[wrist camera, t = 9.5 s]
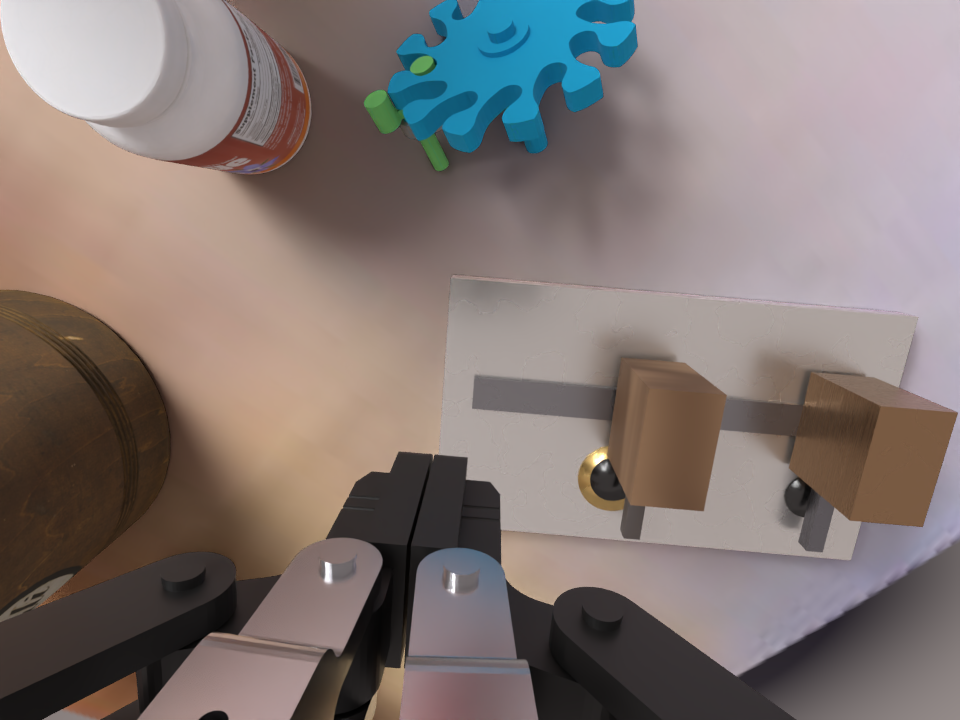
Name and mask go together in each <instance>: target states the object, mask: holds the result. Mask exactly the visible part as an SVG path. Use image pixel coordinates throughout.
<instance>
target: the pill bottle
mask: <svg viewBox="0 0 960 720" xmlns="http://www.w3.org/2000/svg"><path fill="white" fill-rule="evenodd" d="M0 16H1V26H2V32H3V37H4V40H5V44H6V47H7V50H8V52H9V54H10V57H11V59H12V61H13V63H14V65H15V67H16V69H17V70H18V72H19V73H20V75H21V76H22V78H23V79H24V80H25V82H26V83H27V84H28V85H29V86H30V88H31V89H32V90H33V91H34V92H35V93H36V94H37V95H38V96H39V97H41V98H42V99H43V100H44V101H45V102H47V103H48V104H49V105H51V106H52V107H54V108H56V109H58V110H59V111H61V112H63V113H65V114H67V115H69V116H72V117H75V118H78V119H82V120H85V121H86V122H87V123H88V124H89V125H90V126H91V127H92V128H93V129H94V130H95V131H96V132H97V133H99V134H100V135H101V136H102V137H104V138H105V139H107V140H108V141H110V142H111V143H112V144H114V145H116V146H118V147H120V148H122V149H124V150H126V151H128V152H131V153H134V154H137V155H140V156H144V157H148V158H152V159H156V160H161V161H167V162H173V163H179V164H185V165H190V166H197V167H202V168H208V169H214V170H220V171H227V172H232V173H238V174H261V173H266V172H270V171H272V170H275V169H277V168H279V167H281V166H283V165H284V164H286V163H287V162H288V161H290V160H291V159H292V158H293V157H294V156H295V155H296V154H297V152H298V151H299V150H300V148H301V147H302V145H303V143H304V141H305V139H306V137H307V134H308V131H309V127H310V122H311V99H310V93H309V89H308V86H307V83H306V80H305V78H304V75H303V73H302V71H301V70H300V68H299V66H298V65H297V63H296V62H295V60H294V59H293V58H292V57H291V55H290V54H289V53H288V52H287V51H286V50H285V49H284V48H283V47H282V46H281V45H280V44H278V43H277V42H276V41H275V40H274V39H272V38H271V37H270V36H269V35H268V34H266V33H265V32H264V31H263V30H261V29H260V28H259V27H258V26H257V25H255V24H254V23H253V22H252V21H251V20H249V19H248V18H247V17H245V16H244V15H243V14H242V13H241V12H239V11H238V10H237V9H235V8H234V7H233V6H232V5H230V4H229V3H228V2H227V1H225V0H1V9H0Z"/></svg>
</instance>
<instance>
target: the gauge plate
mask: <svg viewBox="0 0 960 720" xmlns="http://www.w3.org/2000/svg"><path fill="white" fill-rule="evenodd" d="M917 320H918V317H916V316H912V315H908V314H904V313H899V312H893V311H881V310H869V309H857V308H845V307H833V306H821V305H809V304H798V303H786V302H774V301H762V300H750V299H738V298H726V297H714V296H702V295H690V294H678V293H666V292H654V291H642V290H631V289H619V288H607V287H595V286H583V285H571V284H559V283H547V282H535V281H523V280H511V279H499V278H487V277H475V276H464V275H452V277H451V281H450V296H449V310H448V325H447V340H446V355H445V370H444V385H443V400H442V415H441V430H440V445H439V455H447V456H458V457H468V463H467V476H466V480H476V481H488V482H491V483H492V485H493V486H494V487H495V488H496V490H497V491H498V492H499V493H500V517H501V520H500V522H501V530H508V531H519V532H531V533H542V534H554V535H565V536H577V537H588V538H600V539H611V540H622V541H634V542H645V543H657V544H668V545H680V546H691V547H703V548H714V549H726V550H737V551H748V552H760V553H771V554H783V555H794V556H806V557H817V558H829V559H840V560H851V558H852V554H853V551H854V547H855V544H856V540H857V536H858V533H859V529H860V526H861V522H871V523H883V524H894V525H906V526H917V527H923V524H924V521H925V518H926V515H927V511H928V508H929V505H930V502H931V498H932V495H933V492H934V489H935V485H936V482H937V479H938V476H939V472H940V469H941V466H942V463H943V459H944V456H945V453H946V450H947V447H948V443H949V440H950V437H951V434H952V430H953V427H954V424H955V421H956V417H957V414H958V413H957V412H955V411H953V410H950V409H948V408H946V407H943V406H941V405H939V404H936V403H934V402H931V401H929V400H927V399H924V398H922V397H920V396H917V395H915V394H912V393H910V392H908V391H905V390H903V389H901V388H899V385H900V382H901V378H902V374H903V371H904V367H905V364H906V360H907V356H908V353H909V349H910V346H911V342H912V338H913V335H914V331H915V328H916V324H917ZM621 357H623V358H635V359H647V360H659V361H670V362H682V363H686V364H687V365H688V366H690V367H691V368H692V369H694V370H695V371H696V372H697V373H699V374H700V375H701V376H703V377H704V378H705V379H707V380H708V381H709V382H710V383H712V384H713V385H714V386H716V387H717V388H718V389H720V390H721V391H722V392H724V393H725V394H726V395H727V397H726V402H725V407H724V412H723V417H722V422H721V427H720V432H719V437H718V442H717V447H716V452H715V457H714V462H713V467H712V472H711V478H710V483H709V488H708V493H707V498H706V503H705V508H704V511H693V510H681V509H670V508H658V507H647V506H645V512H644V518H643V524H642V530H641V536H640V540H636V539H625V538H623V536H622V533H621V531H620V527H621V520H622V514H623V508H624V502H625V492H624V490H623V488H622V486H621V484H620V482H619V480H618V477H617V475H616V473H615V471H614V469H613V467H612V465H611V462H610V460H609V458H608V456H607V452H608V445H609V438H610V431H611V425H612V418H613V411H614V404H615V397H616V391H617V384H618V377H619V370H620V364H621Z"/></svg>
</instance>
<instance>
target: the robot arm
mask: <svg viewBox="0 0 960 720" xmlns="http://www.w3.org/2000/svg"><path fill="white" fill-rule="evenodd" d="M467 463H468V457H458V456H447V455H435V456H434V459H433V455H432V454H422V453H411V452H398V455H397V457H396V459H395V462H394V464H393V466H392V469H391V471H390V473H383V472H370V473H369V474H367V475H366V476H364V477H363V478H361V479H360V480H358V481H357V482H356V483H355V485H354V487H353V489H352V491H351V492H350V494H349V498H347V500H346V502H345V504H344V506H343V509H341V511H340V513H339V515H338V517H337V519H336V521H335V523H334V524H333V526H332V528H331V530H330V532H329V534H328V536H327V538H326V540H322V541H319V542H316V543H313V544H311V545H309V546H307V547H306V548H304V549H303V550H301V551H300V552H299V553H298V554H297V555H296V556H295V558H294V559H293V560H292V562H291V563H290V565H289V566H288V567H287V569H286V570H285V571H284V573H283V574H281V575H277V576H271V577H265V578H257V579H248V580H240V581H236V568H235V565H234V563H233V562H232V561H231V560H230V559H228V558H227V557H225V556H223V555H220V554H216V553H211V552H190V553H184V554H179V555H175V556H171V557H168V558H165V559H162V560H160V561H157V562H155V563H152V564H149V565H147V566H144V567H142V568H139V569H136V570H134V571H131V572H129V573H126V574H123V575H121V576H118V577H116V578H113V579H110V580H108V581H105V582H103V583H100V584H98V585H95V586H92V587H90V588H87V589H85V590H82V591H79V592H77V593H74V594H72V595H69V596H66V597H64V598H61V599H59V600H56V601H53V602H51V603H48V604H46V605H43V606H41V607H38V608H35V609H33V610H30V611H28V612H25V613H22V614H20V615H17V616H15V617H12V618H9V619H7V620H4V621H2V622H0V720H42V719H44V718H46V717H48V716H49V715H51V714H53V713H55V712H57V711H59V710H61V709H63V708H65V707H67V706H69V705H71V704H73V703H75V702H77V701H79V700H81V699H83V698H85V697H87V696H89V695H91V694H93V693H95V692H97V691H98V690H100V689H102V688H104V687H106V686H108V685H110V684H112V683H114V682H116V681H118V680H120V679H122V678H124V677H126V676H128V675H130V674H132V673H134V672H136V677H137V689H138V700H136V701H134V702H132V703H130V704H128V705H127V706H125V707H123V708H121V709H119V710H117V711H116V712H114V713H112V714H110V715H108V716H106V717H105V718H103V719H101V720H372V719H373V716H374V713H375V710H376V702H377V690H378V688H379V686H380V683H381V680H382V676H383V672H384V668H385V667H391V668H400V667H401V662H402V657H403V653H404V648H405V663H404V668H405V673H404V683H403V692H402V702H401V711H400V720H796V719H794V718H793V717H792V716H790V715H789V714H788V713H786V712H785V711H783V710H782V709H781V708H779V707H778V706H776V705H775V704H774V703H772V702H771V701H770V700H768V699H767V698H765V697H764V696H763V695H761V694H760V693H758V692H757V691H756V690H754V689H753V688H751V687H750V686H749V685H747V684H746V683H744V682H743V681H742V680H740V679H739V678H738V677H736V676H735V675H733V674H732V673H731V672H729V671H728V670H726V669H725V668H724V667H722V666H721V665H720V664H718V663H717V662H715V661H714V660H713V659H711V658H710V657H708V656H707V655H706V654H704V653H703V652H701V651H700V650H699V649H697V648H696V647H695V646H693V645H692V644H690V643H689V642H688V641H686V640H685V639H683V638H682V637H681V636H679V635H678V634H677V633H675V632H674V631H672V630H671V629H670V628H668V627H667V626H665V625H664V624H663V623H661V622H660V621H658V620H657V619H656V618H654V617H653V616H652V615H650V614H649V613H647V612H646V611H645V610H643V609H642V608H640V607H639V606H638V605H636V604H635V603H633V602H632V601H631V600H629V599H627V598H626V597H624V596H622V595H620V594H618V593H615V592H613V591H610V590H606V589H602V588H596V587H579V588H574V589H571V590H568V591H566V592H564V593H562V594H561V595H560V596H559V597H558V598H557V600H556V601H555V603H554V606H553V605H550V604H546V603H543V602H540V601H537V600H535V599H532V598H530V597H528V596H526V595H524V594H522V593H520V592H519V591H517V590H516V589H515V588H514V587H512V586H511V585H510V584H509V582H508V581H507V580H506V578H505V574H504V570H503V568H502V567H501V522H500V520H501V517H500V493H499V492H498V491H497V490H496V488H495V487H494V486H493V485H492V483H491V482H488V481H476V480H466V476H467ZM405 643H406V645H405Z"/></svg>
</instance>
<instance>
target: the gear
mask: <svg viewBox="0 0 960 720" xmlns="http://www.w3.org/2000/svg"><path fill="white" fill-rule="evenodd" d="M429 15H430V17H431V20H432V22H433V25H434V27H435V29H436V32H437V34H438V35H440V36H445V37H447V38H446V39H445V40H444V42H442V43H441V44H439V45H437V46H435V47H428V46H427V43H426V41H425V39H424V37H423V35H421V34H413V35H411V36H410V37H409V38H407V39H406V40H405V41H404V42H403V44H402V45H401V46H400V47H399V48H398V50H397V51H396V52H397V54H398V56H399V58H400V60H401V62H402V64H403V66H404V68H405V70H406V71H400V72H397V73H395V74H394V75H393V77H392V78H391V80H390V83H389V86H388V92H387V93H388V95H389V96H390V98H391V100H392V102H393V104H394V106H395V107H394V106H393V104H392V102H391V100H390V98H389V96H388V95H387V93H386V91H384V90H377V91H374V92H372V93H371V94H369V95H368V96H367V97H366V99H365V101H364V106H365V108H366V109H367V111H368V113H369V114H370V116H371V118H372V119H373V121H374V123H375V124H376V126H377V128H378V129H379V131H380V132H381V133H383V134H388V133H391V132H393V131H395V130H396V129H397V128H398V127H399V126H400V127H401V129H402V131H403V132H404V134H405V136H406V137H408V138H410V139H417V140H418V141H420V142H421V144H422V146H423V148H424V150H425V152H426V154H427V155H428V157H429V159H430V161H431V163H432V165H433V167H434V169H435V170H436V171H442V170H444V169H446V168H447V167H448V165H449V162H448V160H447V158H446V156H445V154H444V152H443V150H442V148H441V146H440V144H439V142H438V140H437V138H436V136H435V134H434V133H435V132H438V131H441V130H443V132H444V134H445V136H446V138H447V140H448V142H449V144H450V146H451V147H453V148H454V149H456V150H459V151H462V152H468V153H471V152H473V151H474V150H476V149H477V148H478V147H479V145H480V144H481V142H482V139H483V135H484V133H485V131H486V129H487V127H488V126H489V124H490V123H491V122H492V121H493V120H494V119H495V118H496V117H497V116H498V115H499V114H500V113H501V112H503V111H504V110H505V109H506V108H507V109H506V110H505V112H504V113H503V116H502V121H503V124H504V127H505V129H506V132H507V135H508V138H509V140H510V141H512V142H521V141H524V143H525V146H526V149H527V151H528V152H529V153H539V152H541V151H543V150H544V149H545V148H546V147H547V144H548V141H547V138H546V134H545V131H544V125H543V121H542V118H541V114H540V111H539V104H540V101H541V99H542V96H543V94H544V92H545V91H546V89H547V88H548V87H550V86H551V85H553V84H555V83H558V82H562V88H563V92H564V97H565V101H566V105H567V108H568V109H569V110H571V111H573V112H577V111H580V110H582V109H584V108H587V107H589V106H590V105H592V104H594V103H595V102H597V101H598V100H600V99H601V98H603V89H602V83H601V77H600V73H599V70H598V69H597V68H595V67H592V66H588V65H585V64H582V63H580V62H579V61H577V60H576V59H575V58H576V57H577V56H579V55H580V54H582V53H585V52H588V51H595V52H598V53H599V54H600V56H601V59H602V61H603V63H604V64H605V65H606V66H608V67H620V66H622V65H623V64H624V63H625V62H626V61H627V60H628V59H629V58H630V57H631V56H632V54H633V53H634V52H635V50H636V48H637V47H638V44H637V34H636V25H635V24H634V23H632V22H631V21H632V19H633V17H634V0H479V2H478V4H477V6H476V7H475V9H474V11H473V12H472V13H471V14H470V15H469V16H468V17H466V18H464V19H463V16H462V13H461V10H460V8H459V5H458V2H457V0H446V1H444V2H442V3H441V4H439V5H437V6H436V7H434V8H433V9H431V10H430V12H429ZM596 21H601V22H604V23H607V24H597V23H591V22H596Z"/></svg>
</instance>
